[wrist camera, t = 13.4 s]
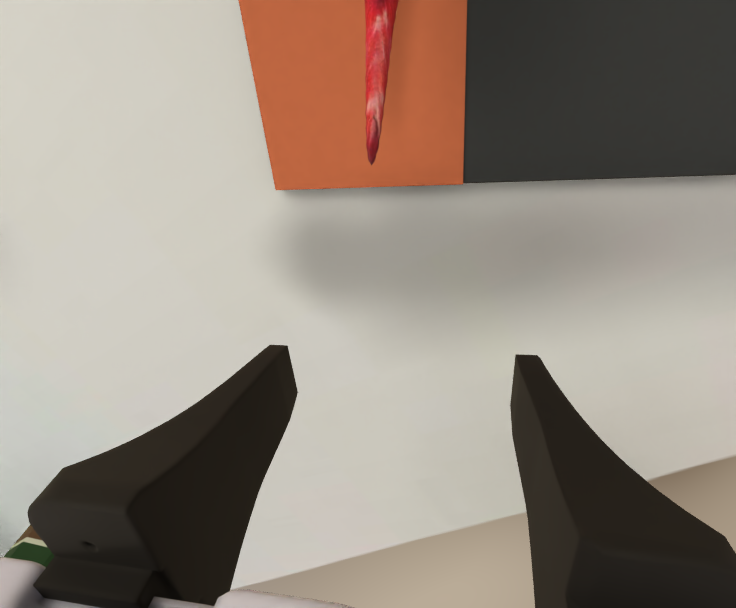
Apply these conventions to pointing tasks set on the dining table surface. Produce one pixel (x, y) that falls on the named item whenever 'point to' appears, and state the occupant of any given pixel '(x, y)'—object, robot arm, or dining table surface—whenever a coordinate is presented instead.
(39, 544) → the beer bottle
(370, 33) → the decorative bird figurine
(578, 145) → the orange and black board
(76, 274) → the dining table surface
